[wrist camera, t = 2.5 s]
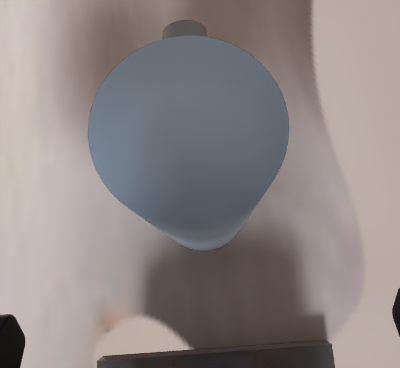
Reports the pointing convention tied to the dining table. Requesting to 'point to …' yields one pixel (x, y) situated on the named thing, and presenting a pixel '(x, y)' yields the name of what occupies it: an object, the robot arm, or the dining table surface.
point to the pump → (189, 135)
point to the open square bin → (232, 357)
